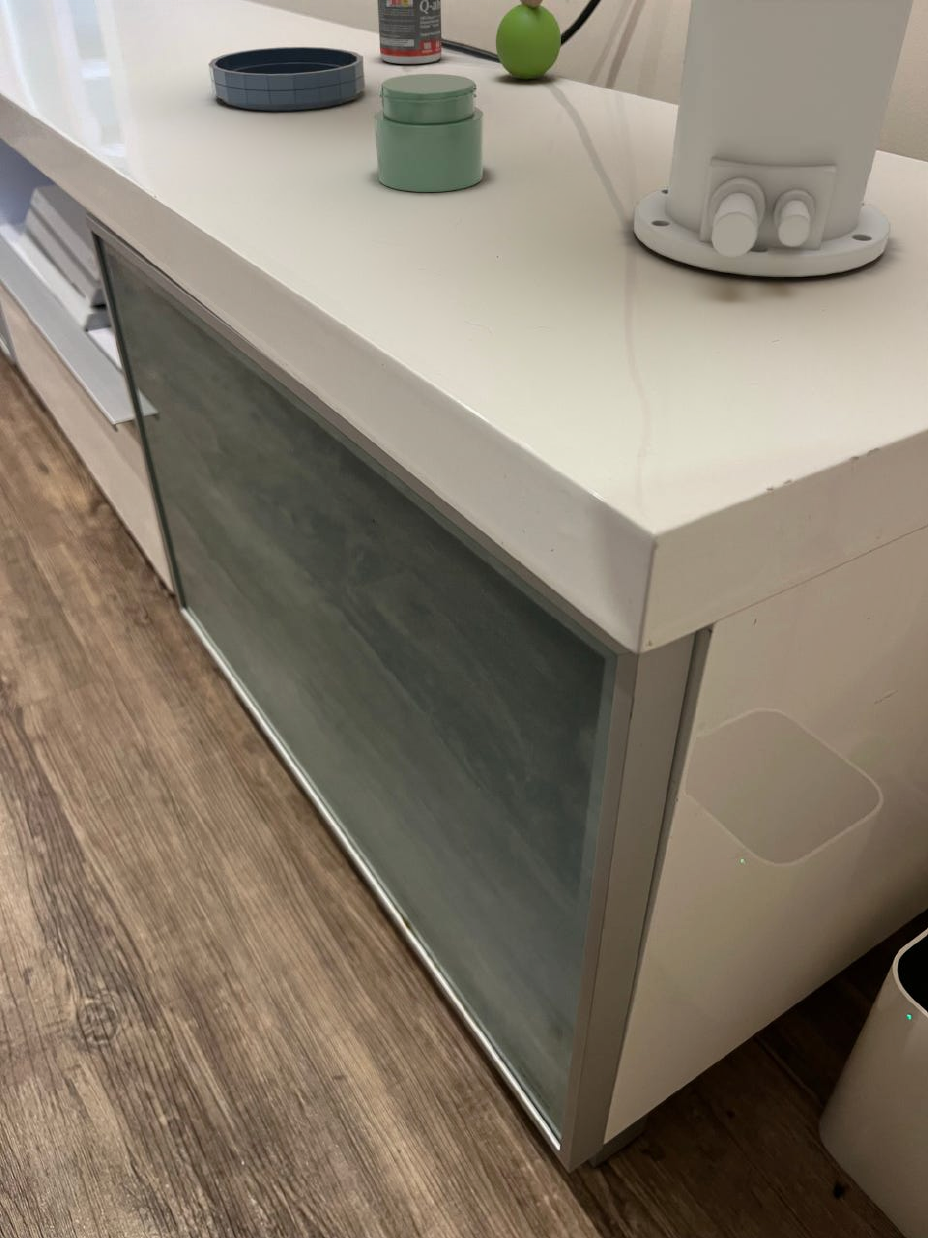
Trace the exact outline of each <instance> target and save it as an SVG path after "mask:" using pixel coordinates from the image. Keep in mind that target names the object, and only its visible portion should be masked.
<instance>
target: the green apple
mask: <svg viewBox="0 0 928 1238" xmlns="http://www.w3.org/2000/svg"><path fill="white" fill-rule="evenodd" d="M519 1H520V4H518V5H516V6H514V7H513V8H511V9H510V10H509V11H507V13H505V15H504V16H503V17H502V19H501V20H500V23H499V25H498V27H497V30H496V35H495V49H496V54H497V58H498V60H499V62H500V64H501V65H502V67H503V69H505V71H506V72H507V73H509V74H510V75H512V76H513V77H515V78H518V79H521V80H532V79H533V80H534V79H537V78H539V77H541V76H544V75H545V74H546V73H547V72H548V71H549V70H550V69H551V68H552V67H553V66H554V64H555V63H556V61H557V59H558V56H559V53H560V51H561V45H562V43H561V42H562V36H561V29H560V26H559V23H558V22H557V19H556V17H555V16H554V15H553V14H552V12H551V11H550V10H549V9H548V8H546V7H544V6H543V5H541V4H542V3H543V0H519Z"/></svg>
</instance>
